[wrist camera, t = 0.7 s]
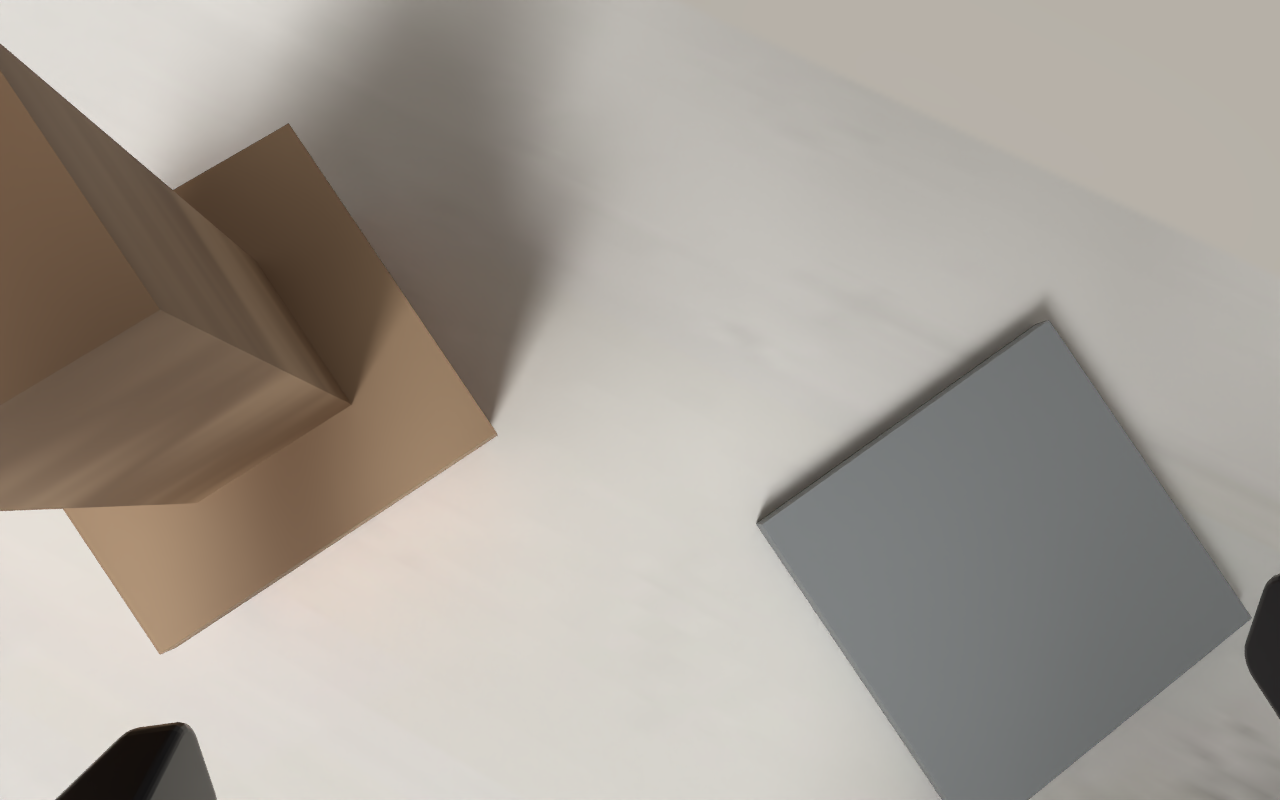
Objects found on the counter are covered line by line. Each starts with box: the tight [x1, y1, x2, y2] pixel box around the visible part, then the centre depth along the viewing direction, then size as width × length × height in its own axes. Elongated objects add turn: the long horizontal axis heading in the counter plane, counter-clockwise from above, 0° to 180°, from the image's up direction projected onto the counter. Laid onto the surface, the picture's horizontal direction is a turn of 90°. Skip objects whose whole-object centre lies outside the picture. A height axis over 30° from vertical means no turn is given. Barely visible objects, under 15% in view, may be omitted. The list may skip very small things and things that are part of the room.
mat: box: [756, 320, 1252, 800], centre depth 23 cm, size 9×9×1 cm
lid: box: [0, 44, 497, 654], centre depth 13 cm, size 7×7×10 cm
